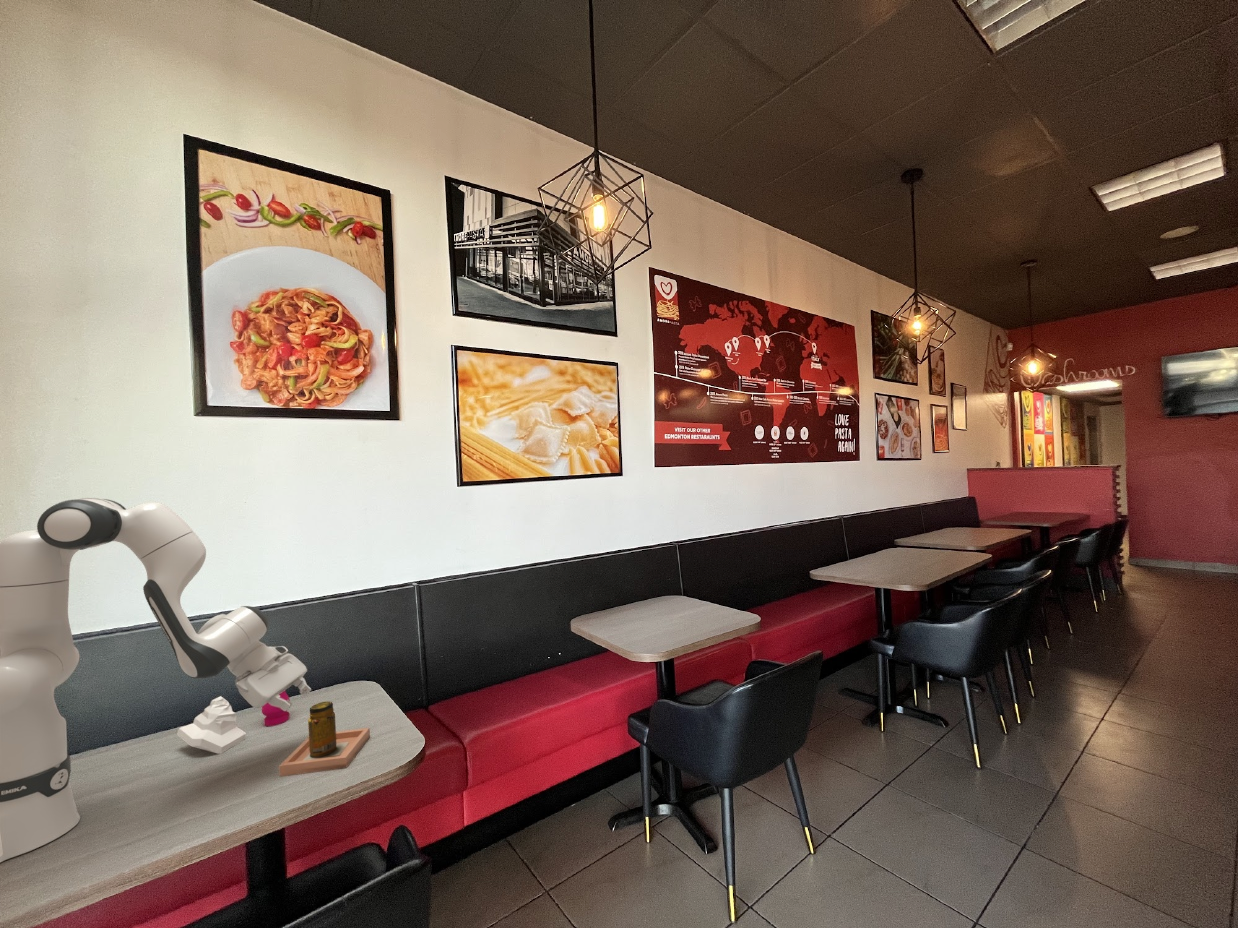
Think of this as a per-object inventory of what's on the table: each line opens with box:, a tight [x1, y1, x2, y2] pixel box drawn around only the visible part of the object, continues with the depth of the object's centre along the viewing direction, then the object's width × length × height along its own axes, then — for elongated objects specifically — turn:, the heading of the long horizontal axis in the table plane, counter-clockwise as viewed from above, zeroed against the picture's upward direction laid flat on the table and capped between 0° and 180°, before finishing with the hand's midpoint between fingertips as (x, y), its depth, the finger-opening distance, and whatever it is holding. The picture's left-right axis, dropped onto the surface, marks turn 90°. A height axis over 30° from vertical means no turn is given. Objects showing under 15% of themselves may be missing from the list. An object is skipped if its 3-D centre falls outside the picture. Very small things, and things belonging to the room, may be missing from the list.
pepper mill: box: [261, 690, 291, 727], centre depth 154 cm, size 7×7×20 cm
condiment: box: [303, 701, 349, 761], centre depth 131 cm, size 7×8×12 cm
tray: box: [278, 727, 371, 777], centre depth 131 cm, size 15×15×2 cm
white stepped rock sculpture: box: [177, 695, 247, 755], centre depth 141 cm, size 12×15×14 cm
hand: (299, 700), depth 130 cm, fingers open, 8 cm apart
